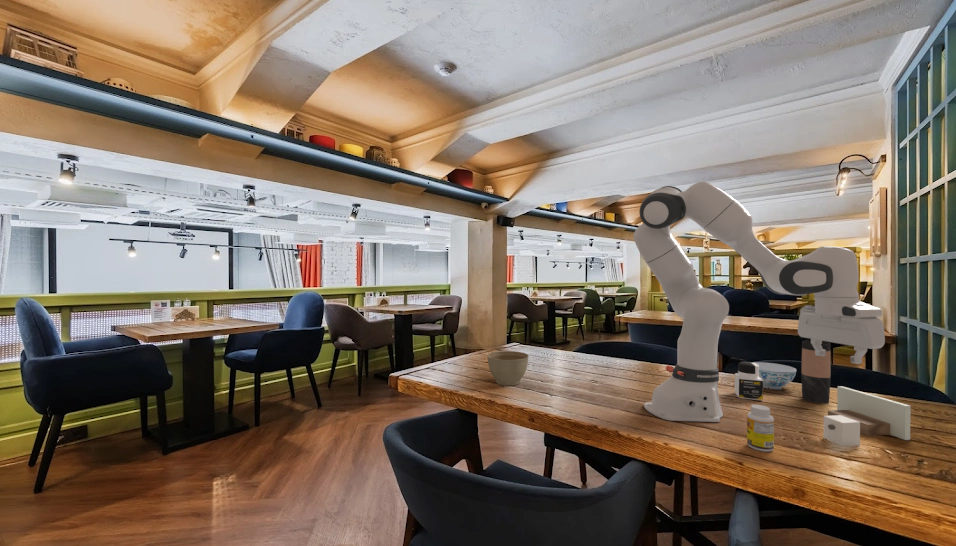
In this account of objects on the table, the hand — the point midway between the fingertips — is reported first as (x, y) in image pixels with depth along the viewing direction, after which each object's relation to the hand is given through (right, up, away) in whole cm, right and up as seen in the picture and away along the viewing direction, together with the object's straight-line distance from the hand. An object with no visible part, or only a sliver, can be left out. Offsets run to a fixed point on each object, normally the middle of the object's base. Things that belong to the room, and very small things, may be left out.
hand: (837, 359), depth 108 cm
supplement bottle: (-25, -21, -6) cm, 33 cm away
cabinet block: (-1, -21, -2) cm, 21 cm away
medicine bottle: (0, -21, +35) cm, 41 cm away
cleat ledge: (+12, -21, +7) cm, 25 cm away
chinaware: (+16, -21, +47) cm, 54 cm away
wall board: (+16, -21, +8) cm, 28 cm away
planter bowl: (-84, -20, +51) cm, 100 cm away
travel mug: (+20, -21, +31) cm, 43 cm away
